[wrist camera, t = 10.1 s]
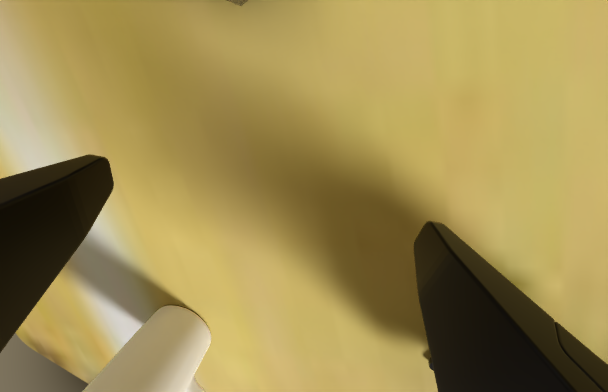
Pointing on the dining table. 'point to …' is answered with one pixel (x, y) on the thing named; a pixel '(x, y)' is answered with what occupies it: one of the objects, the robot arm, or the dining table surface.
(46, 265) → the robot arm
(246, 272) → the dining table surface
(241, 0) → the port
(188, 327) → the mug
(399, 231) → the dining table surface
